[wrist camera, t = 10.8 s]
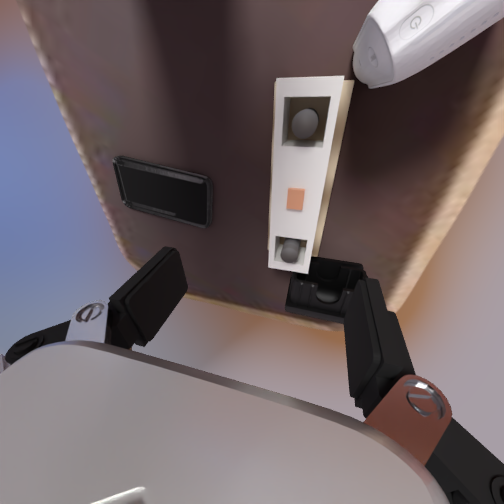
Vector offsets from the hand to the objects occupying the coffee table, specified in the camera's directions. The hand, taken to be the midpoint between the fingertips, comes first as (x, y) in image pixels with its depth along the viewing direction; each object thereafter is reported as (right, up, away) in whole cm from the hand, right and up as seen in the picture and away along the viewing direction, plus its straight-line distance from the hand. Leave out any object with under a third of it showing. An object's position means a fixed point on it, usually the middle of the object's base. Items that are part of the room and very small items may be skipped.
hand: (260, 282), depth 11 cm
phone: (-13, +11, +21) cm, 27 cm away
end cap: (+11, -2, +22) cm, 24 cm away
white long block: (+5, +9, +14) cm, 17 cm away
